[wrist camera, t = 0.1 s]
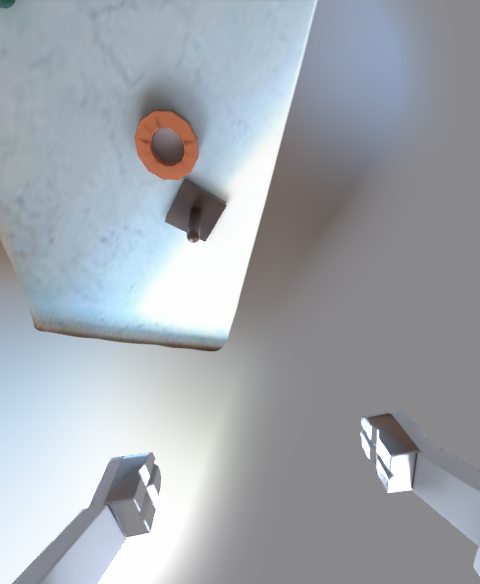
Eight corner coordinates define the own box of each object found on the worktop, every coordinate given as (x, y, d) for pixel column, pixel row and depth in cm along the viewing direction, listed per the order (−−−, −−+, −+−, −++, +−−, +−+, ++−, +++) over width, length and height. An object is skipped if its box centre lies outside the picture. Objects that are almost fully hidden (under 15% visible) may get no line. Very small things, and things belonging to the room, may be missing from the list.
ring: (151, 95, 43) (148, 95, 40) (207, 134, 47) (207, 136, 45) (131, 155, 48) (127, 159, 45) (183, 185, 52) (182, 190, 50)
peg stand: (184, 178, 51) (178, 201, 41) (226, 203, 55) (230, 229, 45) (165, 219, 56) (156, 248, 46) (205, 238, 60) (204, 270, 50)
